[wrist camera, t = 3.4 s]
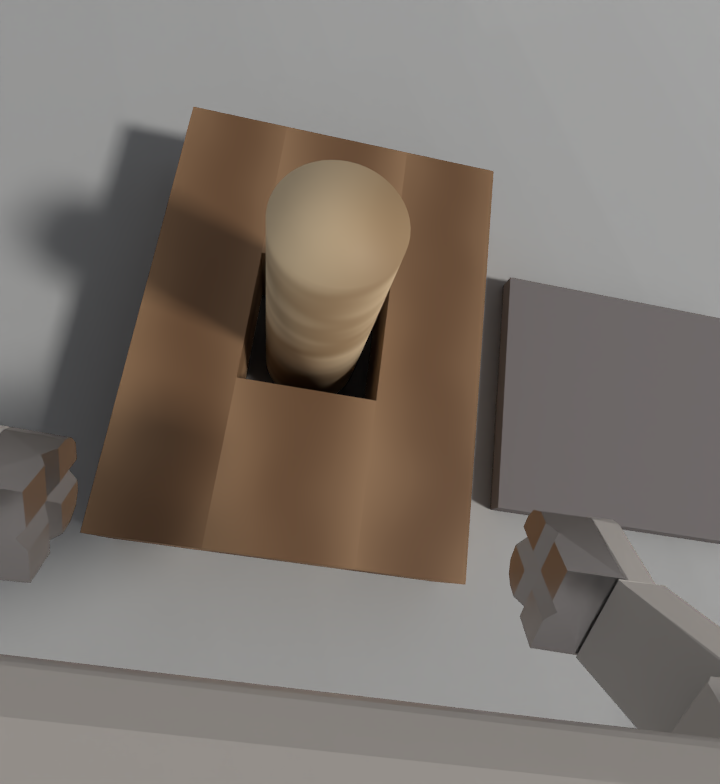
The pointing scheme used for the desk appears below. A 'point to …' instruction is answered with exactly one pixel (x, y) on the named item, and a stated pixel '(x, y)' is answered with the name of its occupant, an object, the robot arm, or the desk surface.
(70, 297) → the desk surface
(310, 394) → the walnut holder
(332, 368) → the beech peg
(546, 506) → the charcoal mat
